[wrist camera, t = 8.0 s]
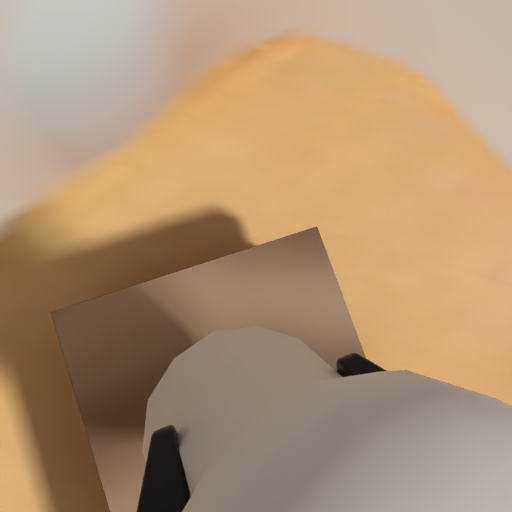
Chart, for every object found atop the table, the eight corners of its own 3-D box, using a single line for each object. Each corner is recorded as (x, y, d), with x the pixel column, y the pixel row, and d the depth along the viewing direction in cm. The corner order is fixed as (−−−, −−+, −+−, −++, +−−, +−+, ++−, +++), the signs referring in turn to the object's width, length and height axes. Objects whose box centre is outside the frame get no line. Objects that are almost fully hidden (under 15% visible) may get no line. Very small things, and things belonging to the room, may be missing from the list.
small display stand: (373, 460, 23) (413, 485, 19) (147, 560, 21) (139, 612, 17) (294, 244, 24) (317, 226, 20) (74, 317, 22) (50, 312, 18)
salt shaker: (160, 321, 16) (97, 228, 3) (326, 336, 17) (790, 307, 4) (138, 511, 15) (-98, 1519, 2) (317, 517, 16) (926, 1263, 3)
